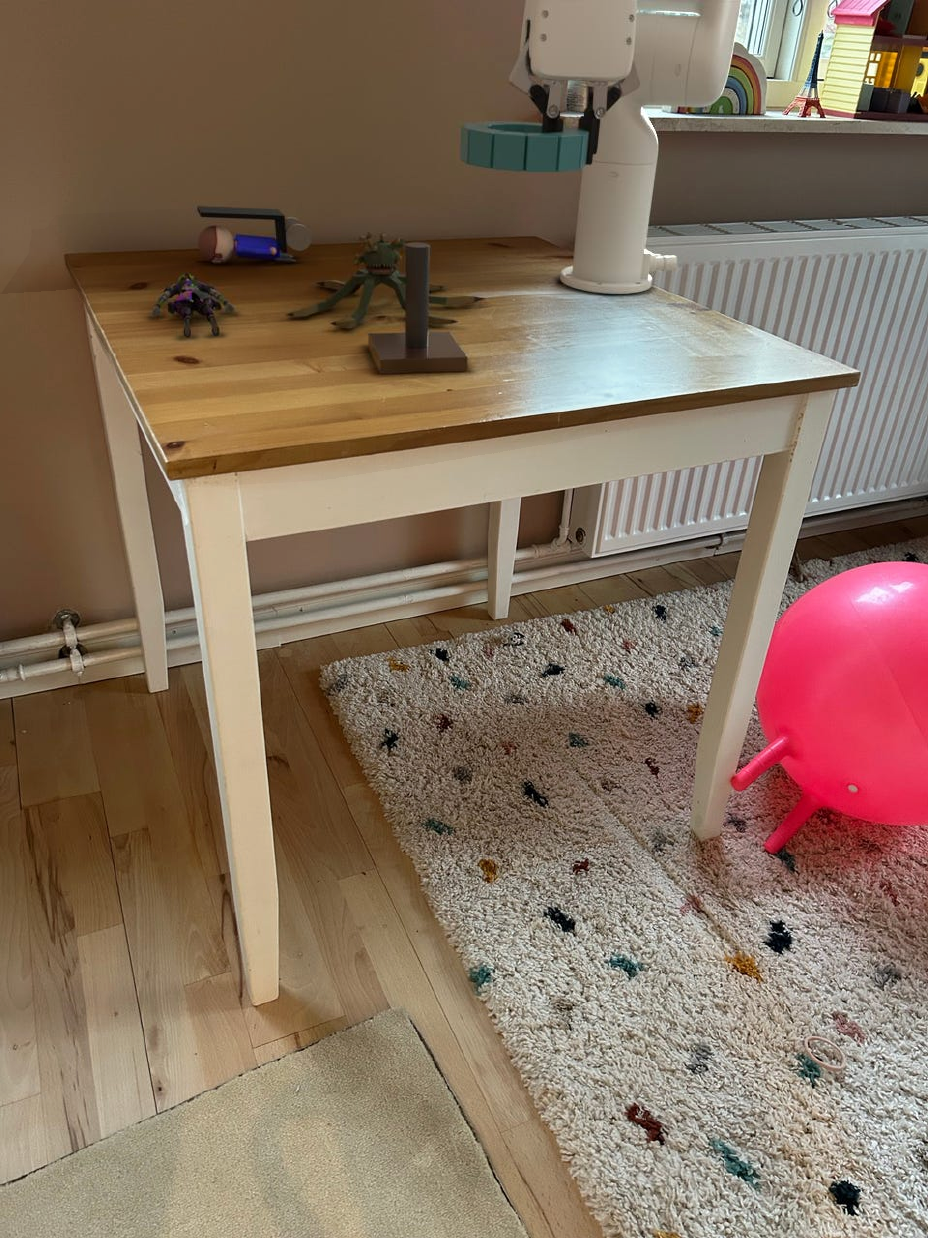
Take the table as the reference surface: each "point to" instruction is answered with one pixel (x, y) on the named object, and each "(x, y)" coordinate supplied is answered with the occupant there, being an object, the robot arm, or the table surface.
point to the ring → (523, 147)
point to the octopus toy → (378, 270)
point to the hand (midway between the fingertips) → (567, 160)
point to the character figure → (192, 302)
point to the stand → (416, 328)
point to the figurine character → (221, 244)
